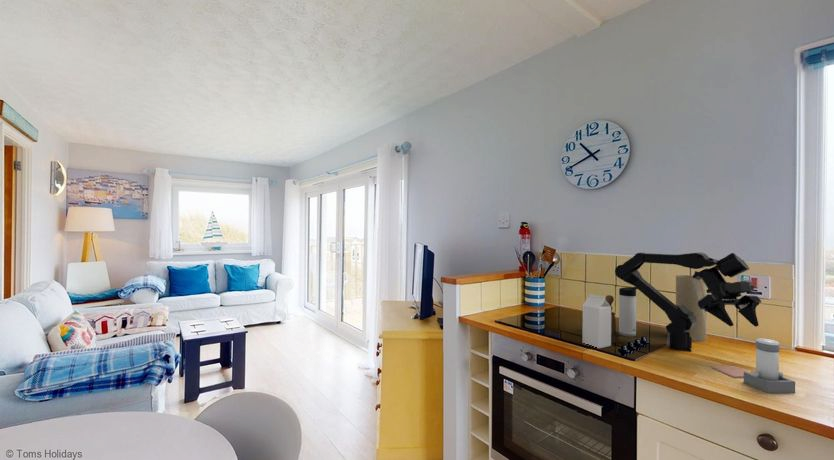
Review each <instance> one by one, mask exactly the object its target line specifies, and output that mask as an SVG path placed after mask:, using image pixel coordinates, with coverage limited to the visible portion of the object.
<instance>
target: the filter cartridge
mask: <svg viewBox="0 0 834 460" xmlns="http://www.w3.org/2000/svg"><path fill="white" fill-rule="evenodd" d="M755 351H756V352H755V354H756V355H755V362H756V363H755V371H757V372H759V377H760V378H762V379H765V380H767V381H779V371H780V369H779V367H780V364H779V363H780V359H779V358H780V342H779V341H777V340H775V339H774V340H773V339H769V338H761V337H760V338H759V337H758V338H756V340H755Z"/></svg>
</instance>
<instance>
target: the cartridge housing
mask: <svg viewBox="0 0 834 460" xmlns="http://www.w3.org/2000/svg"><path fill="white" fill-rule="evenodd" d="M750 372H751V374H750V373H748V372H744V378H743V383H744V384H747V385H749V386H751V387H754V388H756V389H758V390H760V391H762V392H765V393H767V394H780V393H781V394H785V393H786V394H787V393H789V394H790V393H792V394H793V393H796V381H795V380H792V379H789V378H787V377H784V371H781V370H779V381H767V380H765V379H762V378H760V377H759V372H757V371H756V370H751V371H750Z"/></svg>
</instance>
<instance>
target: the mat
mask: <svg viewBox="0 0 834 460" xmlns="http://www.w3.org/2000/svg"><path fill="white" fill-rule="evenodd" d="M711 369H713V370H715V371H718V372H720V373H722V374H724V375H727V376H728V377H731V378H733V379H744V372H748V373H750V374H751V371H750V370H747V369H744V368H742V367H739V366H736V365H711Z"/></svg>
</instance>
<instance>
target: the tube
mask: <svg viewBox="0 0 834 460" xmlns="http://www.w3.org/2000/svg"><path fill="white" fill-rule="evenodd" d="M706 290H707V286H706V285H705V283H704V282H703V280H702V279H700V280H697V279H695V278H693V275H688V274H687V275H685V274H680V275H675V305H677V306H679V307H680V306H682V305H685V306H686V307H687V308H688V309H689V310H690V311H692V312H694V313H693V314H694V315H695V316H696V318H697V323H696V325H695V326H693V327H692V328H691V329H690V331H688V332H689V333H690V337H691V338H692V342H697V343H698V342H699V343H702V342H706V341H707V312H706V311H705V310H703V309H700V307H699V306H698V301H699V300H700V299H702V298H703V297H704V296H706V295H707V292H706Z"/></svg>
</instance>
